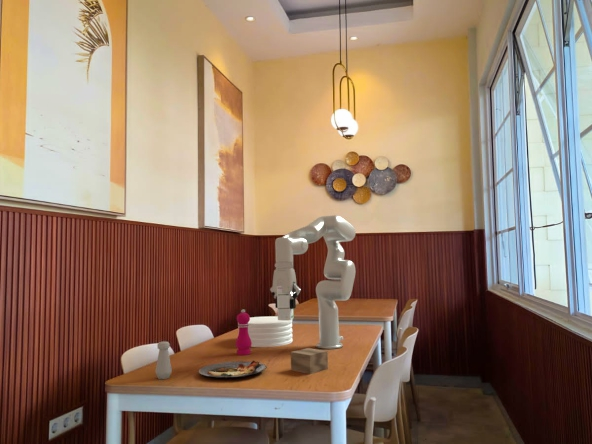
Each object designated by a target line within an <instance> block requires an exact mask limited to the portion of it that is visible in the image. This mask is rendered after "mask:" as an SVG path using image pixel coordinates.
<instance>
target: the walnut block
mask: <svg viewBox="0 0 592 444" xmlns="http://www.w3.org/2000/svg"><path fill="white" fill-rule="evenodd" d="M328 359H329V357H328V350H323V349H319V348H318V349H317V348H311V347H307V348H303V349H299V350H293V351H290V371H294V372H299V373H303V374H308V375H313V374H316V373H318V372H319V373H320V372H323V371H327V370H328V369H329V366H328V365H329V363H328V361H329V360H328Z"/></svg>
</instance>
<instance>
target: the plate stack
mask: <svg viewBox="0 0 592 444" xmlns="http://www.w3.org/2000/svg"><path fill="white" fill-rule="evenodd" d="M248 323H249V327H248V334H249V337H250V339H251V343H252V345H251V347H252V348H253V347H254V348H270V347H280V346H286V345H289V344H291V343H293V341H294V340H293V337H294V336H293V328H292V327H293V319H292V320H278V315H277V316H273V315H271V316H270V315H269V316H265V315H264V316H254V317H253V316H252V317H250V321H249V322H248ZM238 324H239V323H238V322H237V325H238ZM237 327H238V326H237ZM237 333H238V334H239V327H238V331H237ZM238 334H237V335H238ZM251 347H250V348H251Z"/></svg>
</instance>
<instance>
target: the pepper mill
mask: <svg viewBox="0 0 592 444" xmlns="http://www.w3.org/2000/svg"><path fill="white" fill-rule="evenodd" d="M250 318H251V317H250V315H249V314H248V313H247V312H246V309H241V311H240V312H239V314H237V315H236V322H237V327H239V329H238V331H239V334H237V338H236V341H235V347H236V348H237V349H236V355H237V356H248V355H251V354H252V353H251V352H252V350H251V345H252V343H251V339H250V337H249V334H248V327H249V323H248V322H249V321H250ZM238 323H239V324H238Z"/></svg>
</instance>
